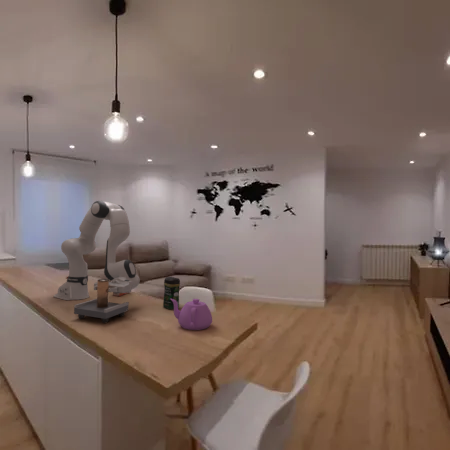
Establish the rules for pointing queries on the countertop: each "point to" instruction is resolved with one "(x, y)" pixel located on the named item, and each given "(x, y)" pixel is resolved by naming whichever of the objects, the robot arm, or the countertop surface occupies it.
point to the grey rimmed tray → (100, 310)
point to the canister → (102, 293)
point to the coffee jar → (171, 292)
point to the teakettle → (193, 315)
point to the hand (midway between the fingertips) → (102, 289)
